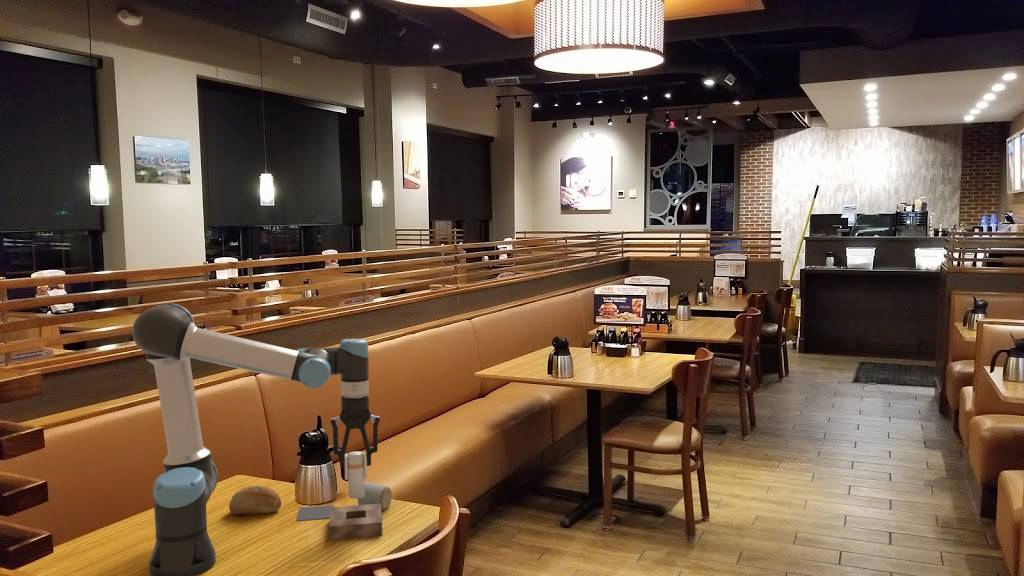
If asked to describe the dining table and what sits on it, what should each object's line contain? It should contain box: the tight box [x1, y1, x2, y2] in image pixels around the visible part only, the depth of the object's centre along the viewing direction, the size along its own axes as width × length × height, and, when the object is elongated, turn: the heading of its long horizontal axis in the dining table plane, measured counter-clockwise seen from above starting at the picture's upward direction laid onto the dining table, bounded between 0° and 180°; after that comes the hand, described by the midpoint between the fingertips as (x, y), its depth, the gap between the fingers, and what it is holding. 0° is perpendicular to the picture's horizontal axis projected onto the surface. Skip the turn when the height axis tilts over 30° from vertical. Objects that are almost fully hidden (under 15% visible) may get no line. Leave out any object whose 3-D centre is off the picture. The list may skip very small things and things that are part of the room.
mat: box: [295, 504, 335, 522], centre depth 217 cm, size 10×10×1 cm
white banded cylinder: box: [347, 450, 366, 500], centre depth 205 cm, size 4×4×12 cm
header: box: [328, 504, 384, 541], centre depth 206 cm, size 14×14×4 cm
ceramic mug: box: [357, 481, 393, 511], centre depth 222 cm, size 11×8×8 cm
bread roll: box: [228, 484, 282, 516], centre depth 219 cm, size 10×15×8 cm, turn 96°
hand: (356, 477), depth 205 cm, fingers closed on white banded cylinder, 4 cm apart
